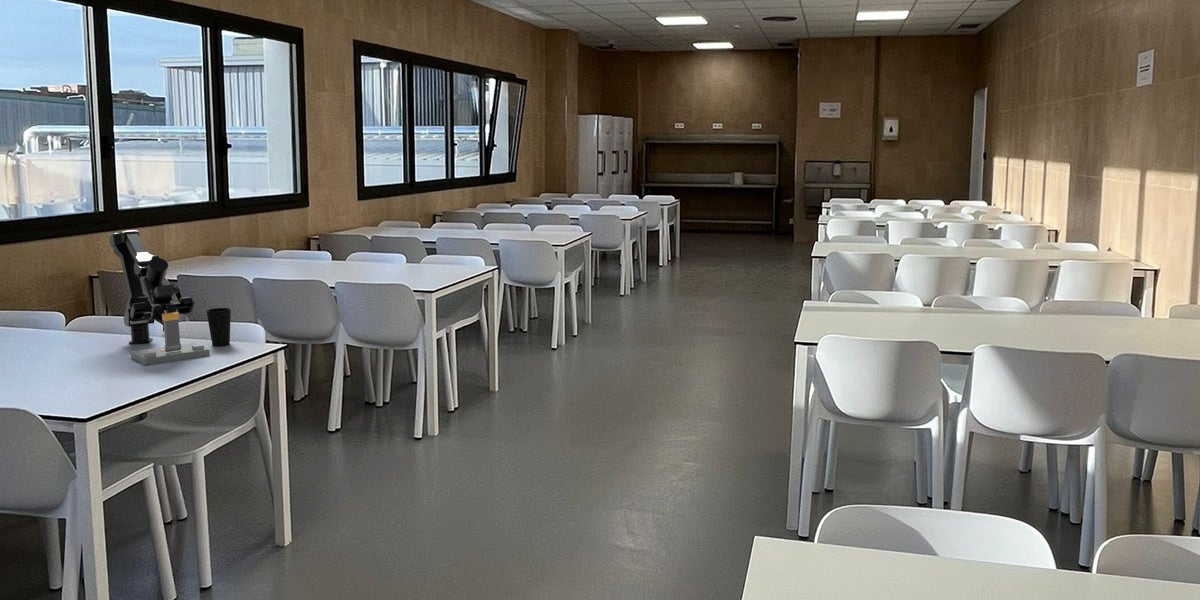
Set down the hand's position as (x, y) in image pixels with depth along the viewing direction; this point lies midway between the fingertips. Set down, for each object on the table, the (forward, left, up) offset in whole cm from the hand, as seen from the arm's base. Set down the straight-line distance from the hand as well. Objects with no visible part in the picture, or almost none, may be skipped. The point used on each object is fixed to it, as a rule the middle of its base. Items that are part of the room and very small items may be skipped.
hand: (170, 329), depth 330 cm
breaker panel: (-2, -1, -9) cm, 10 cm away
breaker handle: (+1, 0, -7) cm, 7 cm away
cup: (-17, +12, -9) cm, 23 cm away
